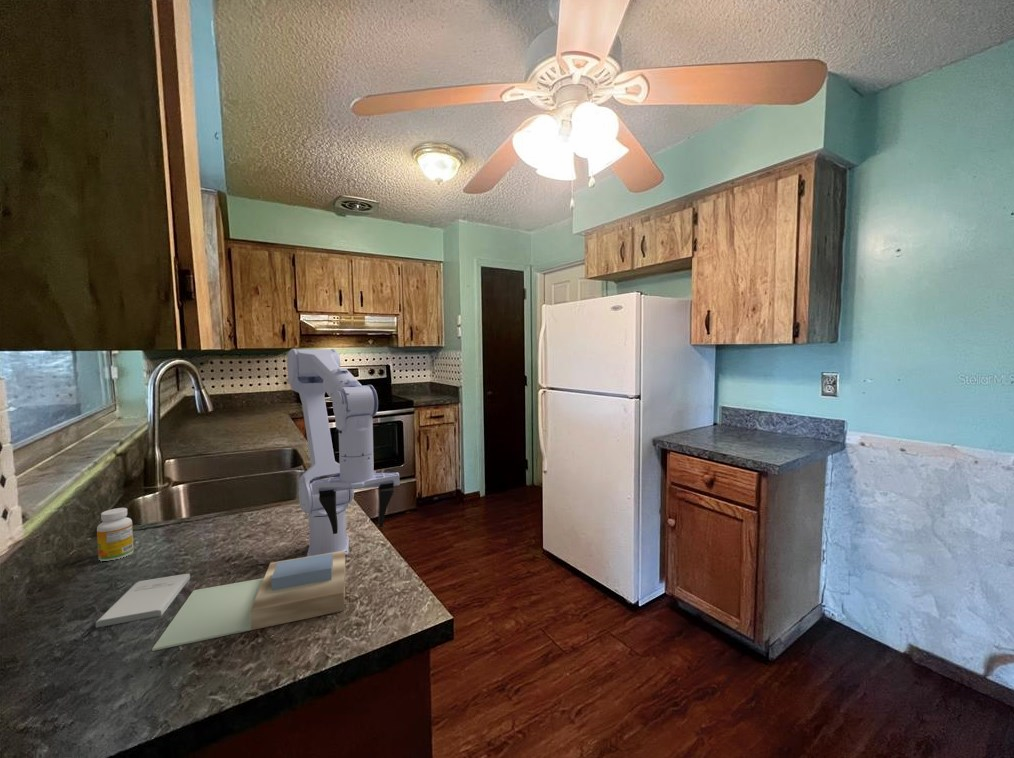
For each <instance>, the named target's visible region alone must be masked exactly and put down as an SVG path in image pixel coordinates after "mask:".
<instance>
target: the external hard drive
mask: <svg viewBox="0 0 1014 758" xmlns="http://www.w3.org/2000/svg"><path fill="white" fill-rule="evenodd" d="M190 579H191V574H190V573H183V574H177V575H171V576H163V577H158V578H152V579H145V580H139V581H137V582H135V583H133V585H132V586H131V587H130V588H129V589H128V590H127V591H126V592H125V593H124V594H123V595H122V596H121V597H120V598H119V599H118V600H117V601H116V602H114V604H113V605H112V606H110V608H109V609H108V610H106V612H105V613H103V615H102V616H100V618H98V619H97V621H96V622H95V628H101V627H106V626H107V627H108V626H114V625H119V624H123V623H124V624H125V623H128V622H133V621H140V620H146V619H151V618H157V617H161V616H163V615H164V613H165V612H166V610H167V609H168V608H169V607H170V605H171V604H172V602H173V601H174V600H175V599H176V597H177V596H178V595H179V593H181V591H182V589H183V588H184V587H185V586H186V584H187V583H188V582H189V580H190Z"/></svg>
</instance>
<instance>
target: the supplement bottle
mask: <svg viewBox="0 0 1014 758" xmlns="http://www.w3.org/2000/svg"><path fill="white" fill-rule="evenodd" d="M128 514H129V513H128V508H127V507H118V508H113V509H112V508H111V509H108V510H105V511H102V512H101V513H100V519H101V520H100V521H102V522H100V523H99V524H98V525H97V527H96V541H97V542H96V543H97V556H98V561H99V560H100V561H99V562H102V561H109V560H114V561H116V560H115V559H118V560H121V559H124V558H126V556H127V557H129V556H131V555H132V554H133V553H134V535H133V532H134V531H133V520H132V518H131V517H127V516H128ZM128 555H129V556H128ZM123 557H124V558H123ZM120 558H121V559H120ZM109 562H110V561H109Z"/></svg>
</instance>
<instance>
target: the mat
mask: <svg viewBox="0 0 1014 758" xmlns="http://www.w3.org/2000/svg"><path fill="white" fill-rule="evenodd" d="M263 579H264V577H261V578H258V579H257V578H256V579H251V580H246V581H245V580H244V581H238V582H235V583H228V584H223V585H217V586H210V587H205V588H199V589H193V590H192V591H191V593H190V595H188V598H187V599H185V600H186V601H185V602H184V603H183V605H182V606H181V608H180V609H179V610H178V612H177V613H176V614H175V616H174V617H173V619H172V620H171V621H170V623H169V624H168V626H167V627H166V628H165V630H164V631H163V633H162V635H161V636H160V637H159V639H158V640H157V641H156V643H155V644H154V645H153V647H152V650H151V651H152V652H154V651H158V650H160V651H161V650H164V649H168V648H172V647H178V646H183V645H187V644H192V643H197V642H202V641H207V640H212V639H215V638H221V637H224V636H229V635H234V634H235V635H236V634H238V633H239V634H240V633H244V632H249V631H252V630H251V608H252V606H253V603H254V601H255V599H256V596H257V594H258V591H259V589H260V587H261V584H262V582H263Z"/></svg>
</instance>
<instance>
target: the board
mask: <svg viewBox="0 0 1014 758" xmlns="http://www.w3.org/2000/svg"><path fill="white" fill-rule="evenodd" d="M327 554H331V553H327ZM321 555H325V554H321ZM314 556H319V555H314ZM306 557H307V556H303V557H302V556H301V557H296V558H292V559H291V558H290V559H284V560H278V561H272V562H269V565H268V568H267V570H266V573H265V575H264V577H263V578H264V579H263V582H262V584H261V587H260V589H259V591H258V594H257V596H256V599H255V601H254V603H253V606H252V608H251V630H250V631H254V630H258V629H262V628H269V627H272V626H277V625H282V624H288V623H290V622H292V623H293V622H296V621H300V620H306V619H310V618H311V619H312V618H315V617H319V616H325V615H329V614H334V613H339V612H342V611H345V595H346V570H347V569H346V566H347V565H346V563H347V561H346V556H345V551H339V552H333V571H332V580H327V581H322V582H316V583H311V584H305V585H300V586H295V587H289V588H284V589H278V590H273V591H272V583H271V578H272V576H273V573H274V570H275V568H276V565H277V563H278V562H282V561H288V560H294V559H300V558H306ZM308 557H313V556H308Z"/></svg>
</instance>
